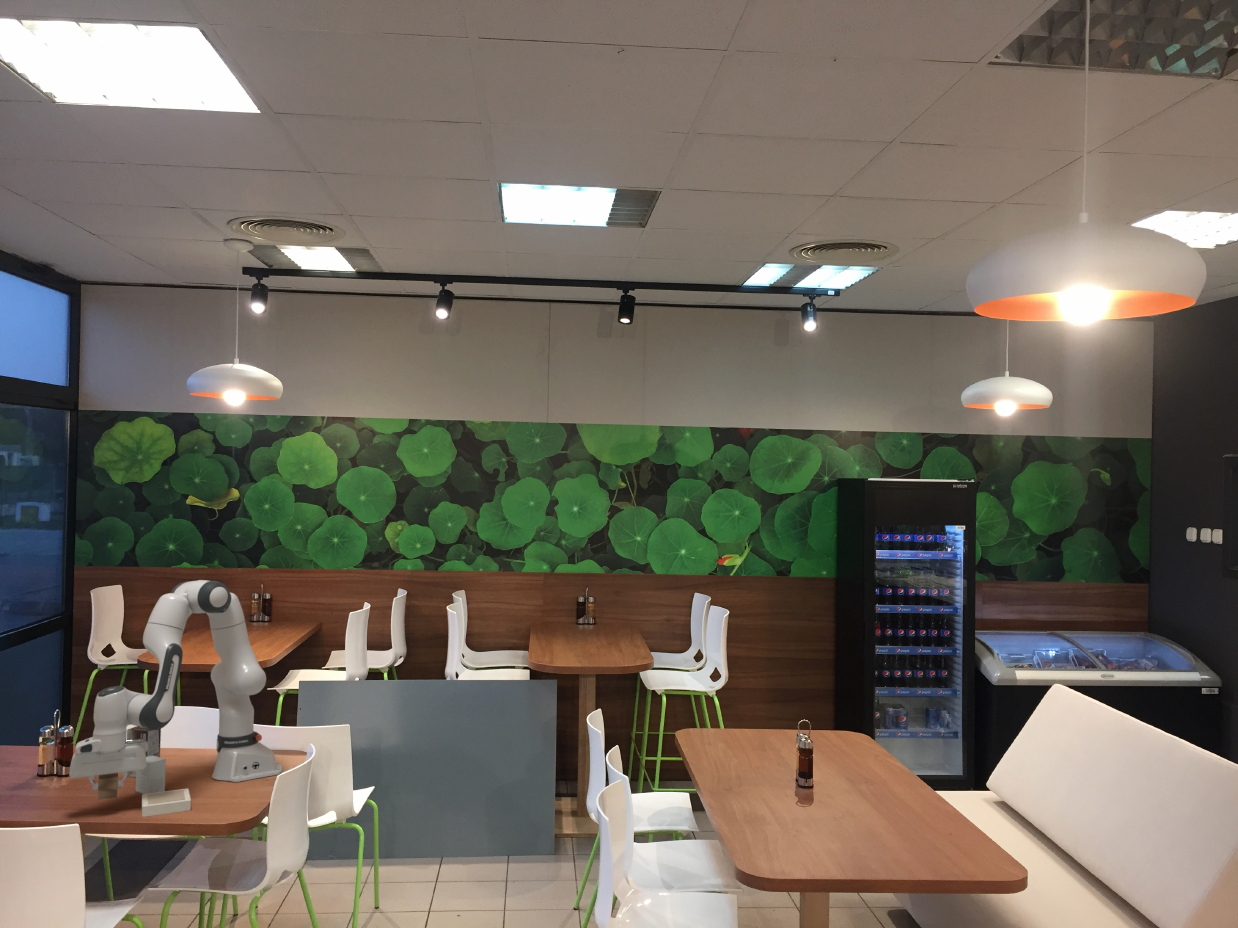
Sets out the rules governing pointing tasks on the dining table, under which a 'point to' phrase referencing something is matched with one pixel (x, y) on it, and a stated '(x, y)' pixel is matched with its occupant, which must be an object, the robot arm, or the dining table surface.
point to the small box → (151, 776)
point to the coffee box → (146, 734)
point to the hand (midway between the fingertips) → (107, 788)
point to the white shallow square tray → (165, 802)
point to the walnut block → (107, 786)
